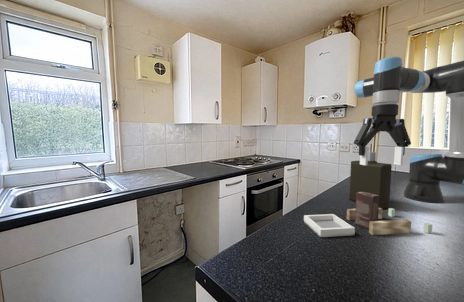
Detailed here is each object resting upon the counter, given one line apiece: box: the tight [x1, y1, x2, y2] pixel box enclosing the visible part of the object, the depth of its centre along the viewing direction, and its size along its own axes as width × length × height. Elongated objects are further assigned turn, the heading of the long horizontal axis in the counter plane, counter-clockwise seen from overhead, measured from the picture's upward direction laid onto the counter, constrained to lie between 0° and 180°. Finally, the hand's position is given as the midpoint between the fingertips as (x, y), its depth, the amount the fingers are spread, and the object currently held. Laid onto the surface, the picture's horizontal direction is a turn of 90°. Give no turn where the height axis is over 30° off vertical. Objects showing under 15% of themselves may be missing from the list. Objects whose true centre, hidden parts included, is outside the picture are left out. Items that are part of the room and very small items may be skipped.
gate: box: [387, 207, 433, 234], centre depth 76 cm, size 2×16×3 cm, turn 6°
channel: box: [346, 208, 412, 236], centre depth 75 cm, size 14×13×4 cm
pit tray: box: [303, 213, 356, 238], centre depth 73 cm, size 12×12×2 cm
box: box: [354, 192, 379, 230], centre depth 74 cm, size 6×4×12 cm
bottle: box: [348, 151, 392, 210], centre depth 98 cm, size 8×16×25 cm, turn 28°
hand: (380, 164), depth 73 cm, fingers open, 13 cm apart
